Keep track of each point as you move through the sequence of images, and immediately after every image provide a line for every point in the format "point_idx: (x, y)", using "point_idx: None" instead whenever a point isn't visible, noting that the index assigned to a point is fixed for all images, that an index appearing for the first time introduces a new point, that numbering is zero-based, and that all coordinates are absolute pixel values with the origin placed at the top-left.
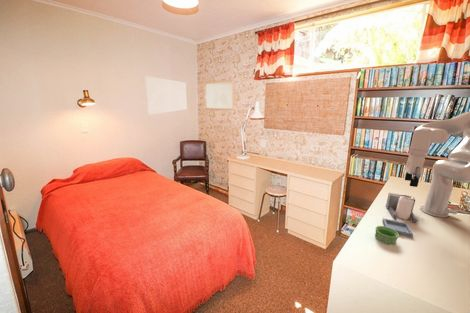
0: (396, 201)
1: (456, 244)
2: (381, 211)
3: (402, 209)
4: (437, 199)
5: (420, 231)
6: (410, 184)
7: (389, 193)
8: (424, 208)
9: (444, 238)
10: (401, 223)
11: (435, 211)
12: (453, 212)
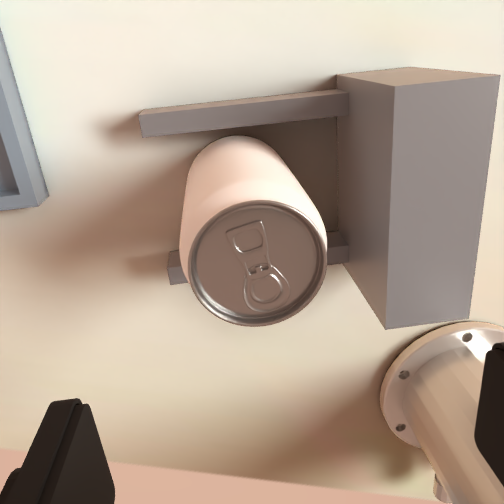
0: (369, 156)
1: (17, 422)
2: (250, 13)
3: (186, 193)
4: (463, 479)
5: (44, 277)
6: (41, 429)
7: (472, 80)
8: (464, 348)
9: (51, 384)
10: (13, 163)
11: (411, 403)
12: (436, 483)
